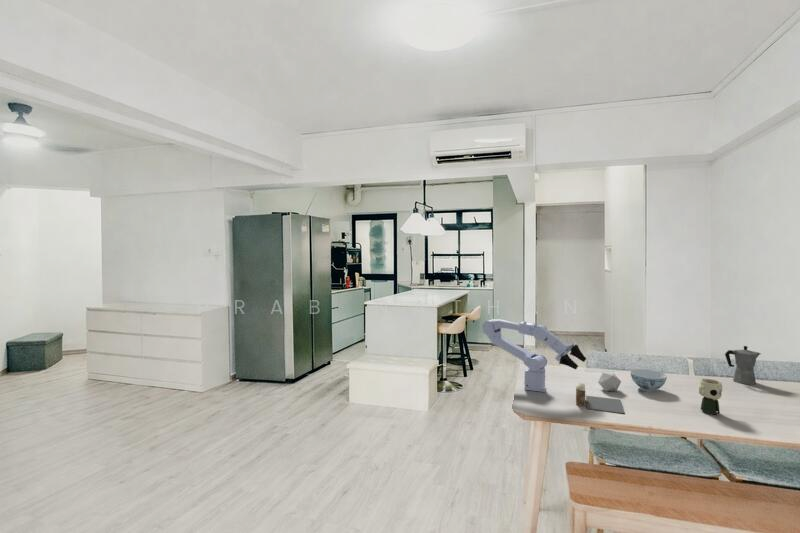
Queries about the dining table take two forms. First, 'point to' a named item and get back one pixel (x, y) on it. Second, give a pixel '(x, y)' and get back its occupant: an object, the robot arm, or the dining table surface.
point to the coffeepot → (743, 365)
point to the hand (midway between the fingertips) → (581, 364)
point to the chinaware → (648, 379)
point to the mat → (604, 404)
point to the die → (609, 381)
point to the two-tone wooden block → (580, 394)
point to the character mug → (710, 395)
